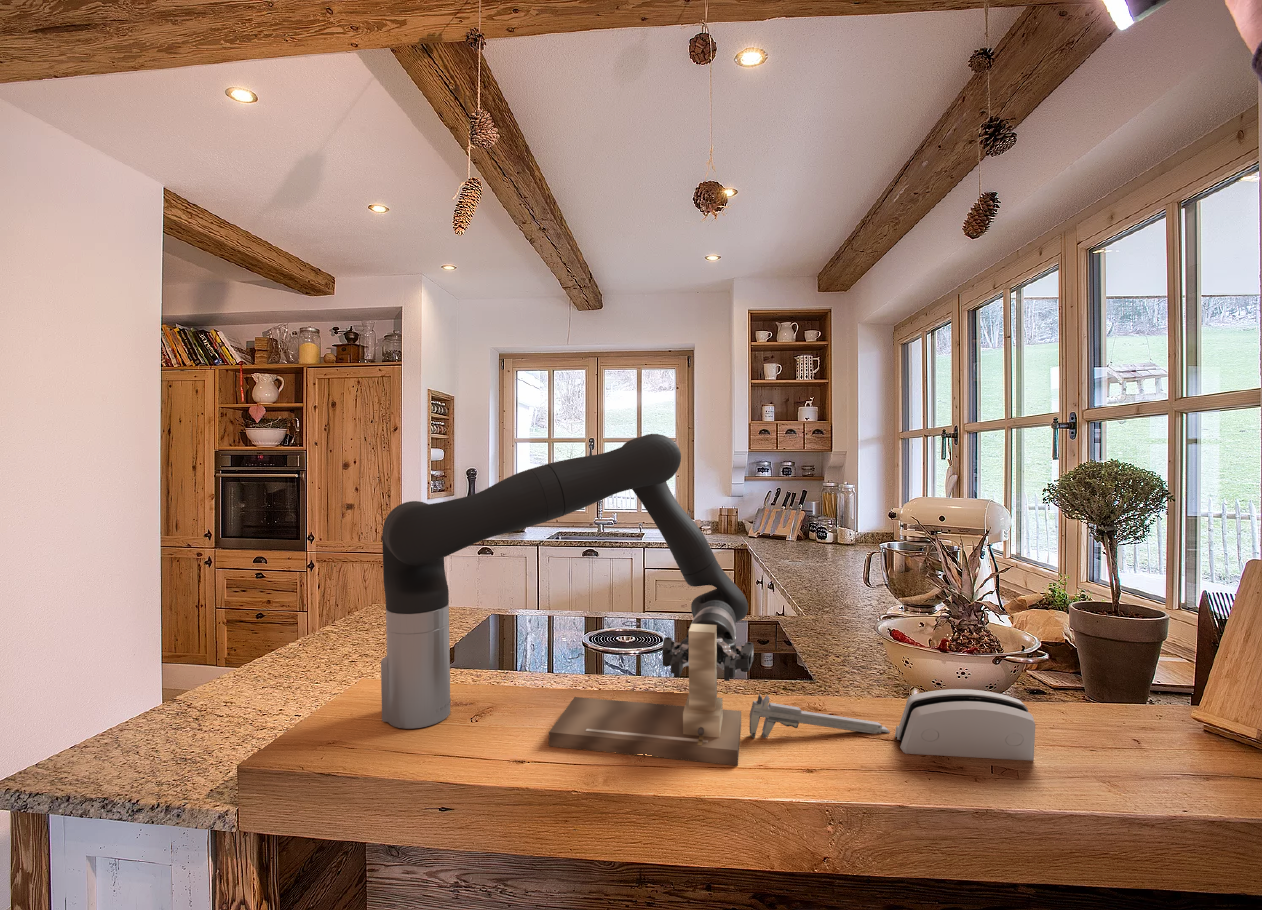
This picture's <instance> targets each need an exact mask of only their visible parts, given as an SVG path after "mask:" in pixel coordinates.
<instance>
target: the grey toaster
mask: <svg viewBox="0 0 1262 910" xmlns="http://www.w3.org/2000/svg"><path fill="white" fill-rule="evenodd" d="M894 733H895V734H894V737H895V738H896V737H897V739H896V740H898V741H901V743H900V746H899V747H900V750H901V752H903V754H908V755H909V754H911V755H922V756H923V755H925V756H927V755H928V756H945V757H961V758H962V757H963V758H978V759H979V758H980V759H982V758H983V759H997V760H1013V761H1015V760H1016V761H1033V762H1034V761H1035V760H1034V759H1035V740H1036V722H1035V719H1034V716H1033V714H1032V713H1031V712H1029V709H1028V707H1027V706H1026V705H1025V703H1023V702H1022V700H1020V699H1018V698H1017V697H1013V696H1009V695H1006V694H1002V693H998V692H992V691H988V690H981V689H979V690H978V689H971V688H970V689H968V688H950V689H949V688H948V689H937V690H931V691H924V692H919V693H916V694H911V695H910V696H909V697H907V700H906V703H905V706H904V710H903V713H902V716H901V718H900V722H899V725H896V726H895V732H894Z"/></svg>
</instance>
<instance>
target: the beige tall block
mask: <svg viewBox="0 0 1262 910" xmlns="http://www.w3.org/2000/svg"><path fill="white" fill-rule="evenodd" d="M689 628H690V629H689ZM689 628H688V631H689V667H688V695H687V699H686V701H685V705H684V706H685V708H684V711H683V734H686V735H697V736H707V737H718V738H720V732H721V725H722V719H723V697H718V672H717V671H718V666H717V625H708V624H690V625H689Z"/></svg>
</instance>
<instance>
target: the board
mask: <svg viewBox="0 0 1262 910" xmlns="http://www.w3.org/2000/svg"><path fill="white" fill-rule="evenodd" d="M684 708H685V705H676V704H664V703H652V702H651V703H650V702H640V701H639V702H638V701H627V700H626V701H625V700H615V699H604V698H603V699H602V698H593V697H581V696H580V697H579V696H574V697H573V699H572V700H571V701H570V702H569V704H568V705H567V707H566V708H565V709H564V711H563V712H562V713H561V715H560V716H559V717H558V719H557V721H555V723H554V724H553V725H552V727H551V728H550V730H549V731H548V747H553V748H563V749H573V750H582V749H586V750H585V751H591V750H594V751H593V752H601V751H606V752H605V753H611V752H616V753H615V754H621V753H623V754H622V755H630V754H643V755H645V754H647V755H652V756H658V757H657V758H660V757H664V758H663V759H670V760H671V759H672V760H681V761H689V762H700V763H709V764H710V763H711V764H721V765H727V766H728V765H729V766H739V757H740V756H739V753H740V744H741V743H740V742H741V731H742V710H736V709H735V710H734V709H723V719H722V725H721V732H720V738H718V737H707V736H697V735H686V734H683V711H684Z"/></svg>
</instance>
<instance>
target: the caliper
mask: <svg viewBox="0 0 1262 910" xmlns="http://www.w3.org/2000/svg"><path fill="white" fill-rule="evenodd" d="M770 699H771V698H770V697H769V695H768V694H767V695H765V696H764V698H763V697H762V695H761V694H760V693H758V695H757V700H752V701H753V702H752V704H751V707H750V711H749V735H750V736H751V737H752V738H753V739H756V735H757V729H758V728H759V727H758V726H759V723H760V720H761V719H760V718H764V722H763V725H762V733H761V736H762V735H763V736H762V739H766V737H767V738H768V737H769V735H771V731H772V730H773V728H774V726H775V725H776V723H780V724H781V725H783V726H785V727H792V728H795V729H798V728H799V724H803V725H805V724H806V725H811V726H812V725H813V726H819V727H825V728H832V729H839V730H845V731H851V732H856V733H857V732H858V733H863V734H869V735H870V734H873V735H875V734H882V733H886V734H887V733H888V734H889V733H891V731H890V730H889V729H888V728H887V727H886V726H883V725H882V724H881V723H880V722H877V721H872V720H866V719H860V718H859V719H858V718H852V717H845V716H839V715H834V714H833V715H832V714H825V713H821V712H820V713H819V712H812V711H806V710H802V709H801V708H800V707H799V706H793V705H792V706H791V705H786V704H780V703H775V702H770Z"/></svg>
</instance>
